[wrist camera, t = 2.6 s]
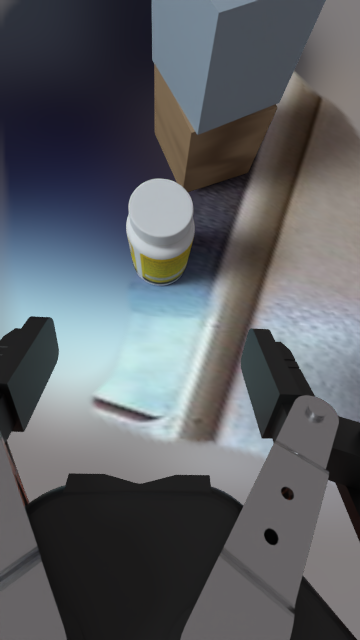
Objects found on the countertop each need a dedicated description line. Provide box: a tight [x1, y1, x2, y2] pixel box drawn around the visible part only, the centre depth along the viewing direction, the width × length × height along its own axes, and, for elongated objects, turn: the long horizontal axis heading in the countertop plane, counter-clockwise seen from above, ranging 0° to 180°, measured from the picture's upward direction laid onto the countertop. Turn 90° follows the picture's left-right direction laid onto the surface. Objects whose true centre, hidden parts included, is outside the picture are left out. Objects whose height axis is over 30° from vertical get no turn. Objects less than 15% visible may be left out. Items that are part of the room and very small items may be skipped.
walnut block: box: [155, 65, 277, 192], centre depth 25 cm, size 7×7×7 cm
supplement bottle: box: [126, 179, 195, 286], centre depth 22 cm, size 5×5×8 cm
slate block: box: [152, 0, 326, 135], centre depth 18 cm, size 7×7×7 cm
